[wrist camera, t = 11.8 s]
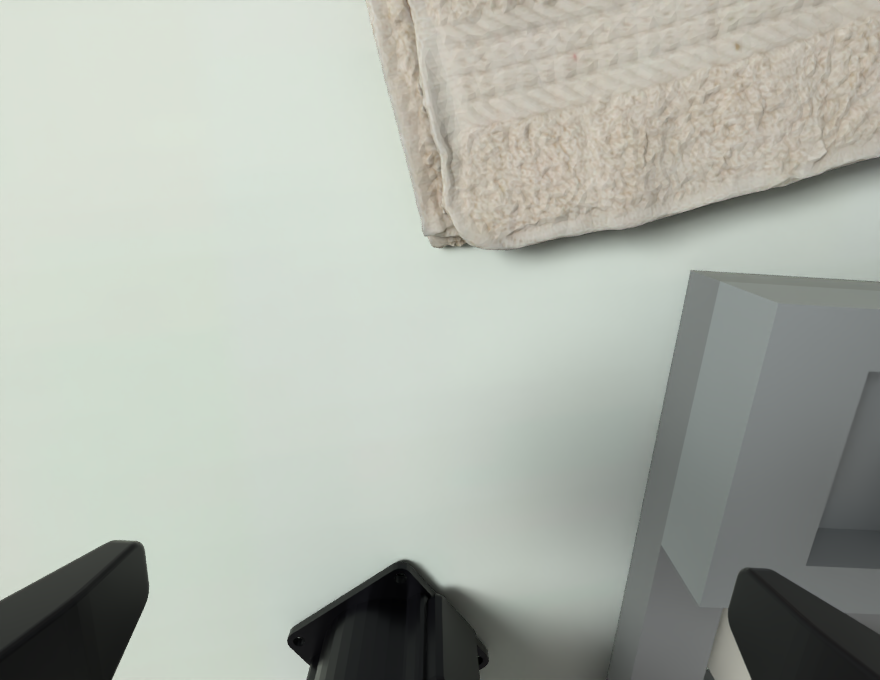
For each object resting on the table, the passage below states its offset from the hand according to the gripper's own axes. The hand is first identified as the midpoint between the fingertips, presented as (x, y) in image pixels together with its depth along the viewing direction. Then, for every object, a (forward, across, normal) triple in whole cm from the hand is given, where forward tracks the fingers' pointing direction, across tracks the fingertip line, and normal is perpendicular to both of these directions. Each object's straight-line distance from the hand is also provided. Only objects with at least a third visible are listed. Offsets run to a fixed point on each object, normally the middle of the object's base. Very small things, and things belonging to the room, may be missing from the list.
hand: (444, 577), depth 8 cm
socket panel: (+12, -14, +7) cm, 20 cm away
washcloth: (+13, -6, -11) cm, 18 cm away
